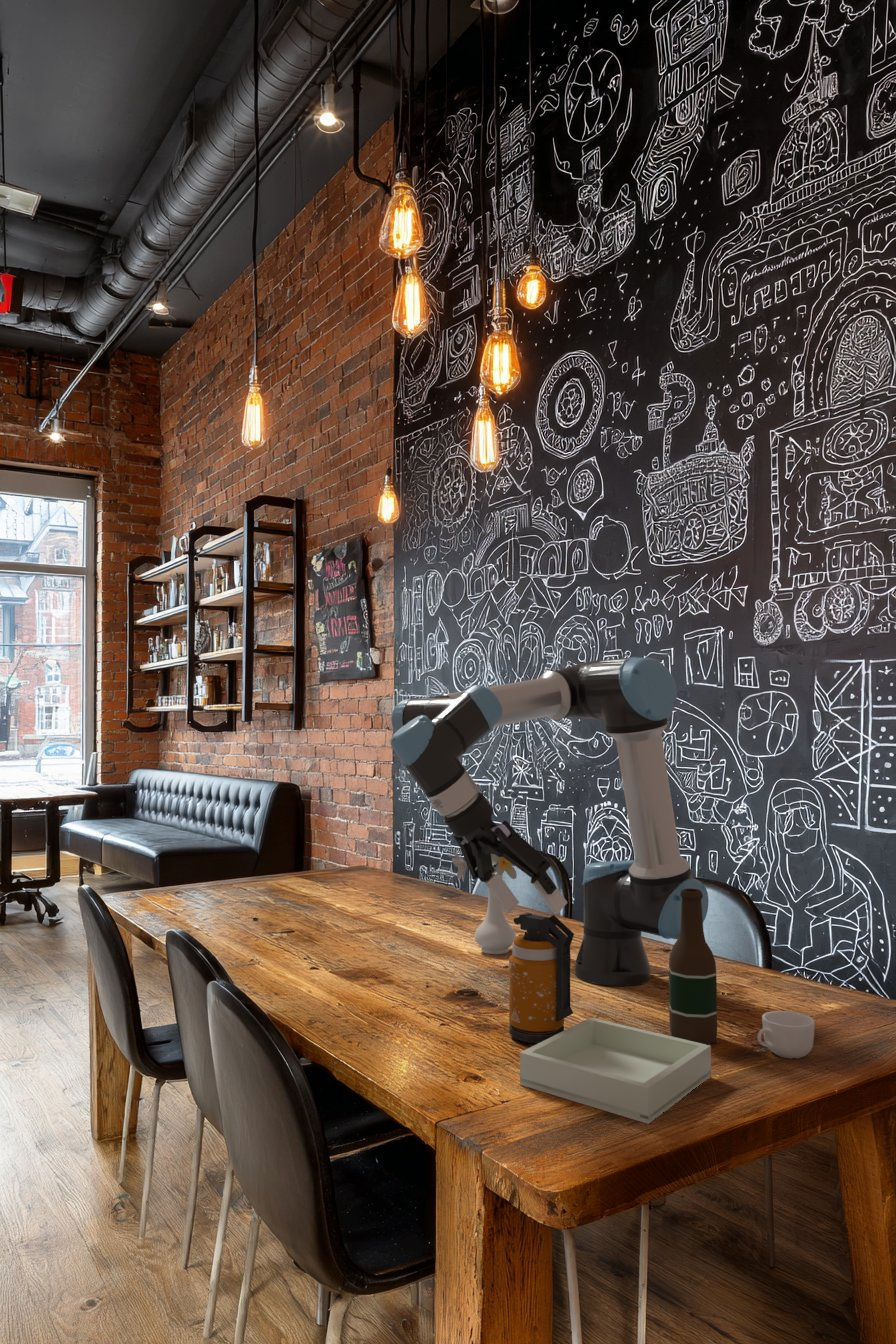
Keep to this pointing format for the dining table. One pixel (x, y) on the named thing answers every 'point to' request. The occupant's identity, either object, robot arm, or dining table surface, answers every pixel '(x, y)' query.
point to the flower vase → (492, 911)
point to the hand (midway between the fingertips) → (536, 908)
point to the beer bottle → (692, 977)
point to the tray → (616, 1068)
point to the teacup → (787, 1033)
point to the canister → (539, 979)
